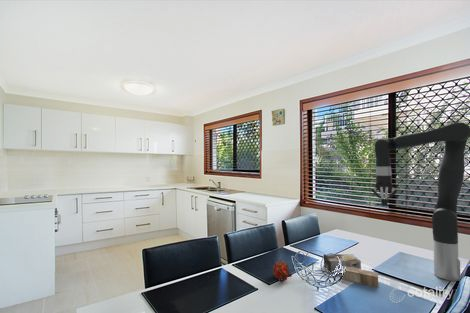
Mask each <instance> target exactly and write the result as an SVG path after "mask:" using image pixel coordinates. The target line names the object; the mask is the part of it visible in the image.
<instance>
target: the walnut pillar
mask: <svg viewBox="0 0 470 313" xmlns="http://www.w3.org/2000/svg"><path fill="white" fill-rule="evenodd" d="M345 267H346V272H345V274H344V276H343V278H342V277H341V279H342V281H346V282H352V283H357V284H361V285H366V286H369V287H375V288H379V272H376V271H371V270H366V269H362V268H361V269H357V268H352V267H347V266H343V269H344V268H345Z"/></svg>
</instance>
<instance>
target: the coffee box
mask: <svg viewBox="0 0 470 313" xmlns="http://www.w3.org/2000/svg"><path fill="white" fill-rule="evenodd" d="M337 256H338V257H339V259H340V260H341V261H342V266H347V267H352V268H357V269H362V264H361V263H362V261H361V260H360V259H359V258H358V257H357V256H355V255H354V254H353V253H348V254H347V253H345V254H344V253H343V254H341V253H340V254H337V253H335V254H334V253H333V254H331V253H330V254H323V267H324V268H325V269H326V268H327V269H328V270H329V271H330V272H332V271H334V270H335V268H336V266H337V265H338V263H339V261H338V258H337ZM339 268H340V265H339V266H338V269H339ZM327 269H326V270H327ZM328 270H327V271H328ZM329 271H328V272H329ZM330 272H329V273H330Z"/></svg>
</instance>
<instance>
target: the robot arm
mask: <svg viewBox="0 0 470 313" xmlns="http://www.w3.org/2000/svg"><path fill="white" fill-rule="evenodd" d="M469 137H470V126H469V125H468V124H467V123H466V122H462V121H461V122H459V121H458V122H453V123H450V124H448V125H444V126H441V127H437V128H434V129H431V130H426V131H419V132H414V133H407V134H402V135H397V136H396V137H391V138H380V139H378V140H376V141H375V142H374V153H375V166H376V167H375V185H374V187H372V188H371V192H373V194H374V195H375V196H376V197H377V199H380V200H381V202H380V204H381V205H382V206H383V207H386V206H388V199H391V198H393V196H394V195H395V194H396V193H397V192H398V189H396V188H395V187H394V186H393V183H392V182H393V179H392V167H391V166H392V165H391V157H390V151H395V150H401V149H408V148H413V147H419V146H422V145H427V144H432V143H437V142H444V150H443V151H444V153H443V156H442V158H441V162H440V166H439V168H438V169H439V170H438V177H437V179H438V180H437V190H438V191H437V201H436V206H435V208H434V211H433V213H432V216H431V224H432V238H433V245H432V246H433V272H434V276H436V277H438V278H439V279H442V280H446V281H452V282H454V281H455V282H456V281H459V282H460V279H461V280H462V276H461V274H462V273H461V259H459V234H458V228H459V227H458V214H457V213H458V211H457V210H458V209H457V208H458V198H459V196H460V192H461V191H462V187H463V182H464V177H465V166H466V165H465V150H466V145H467V142H468V139H469ZM378 192H379V193H380V195H379V193H378ZM388 193H389V194H388Z"/></svg>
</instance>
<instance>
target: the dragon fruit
mask: <svg viewBox="0 0 470 313" xmlns="http://www.w3.org/2000/svg"><path fill="white" fill-rule="evenodd" d="M272 269H273V272H272V273H273V276H274V277H275V278H276V279H277V280H278V279H280V280H281V279H283V280H281V281H282V282H283V281H287V280H288V278H292V276H293V274H292V273H291V272H290V271H291V269H290V267H289V264H288V263H287V262H284V261H283V260H281V261H276V263H274V265H273V266H272ZM281 281H280V282H281Z"/></svg>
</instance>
